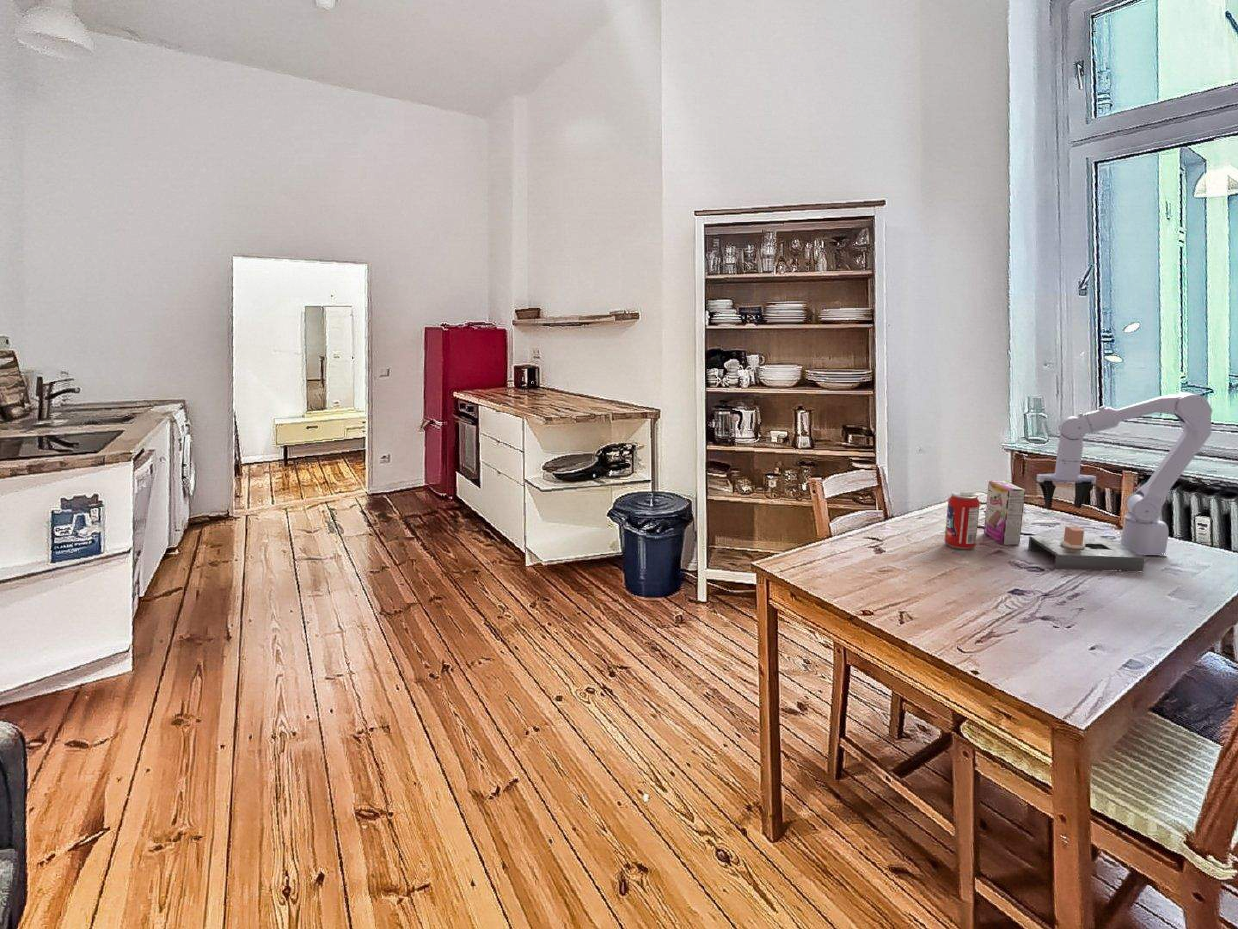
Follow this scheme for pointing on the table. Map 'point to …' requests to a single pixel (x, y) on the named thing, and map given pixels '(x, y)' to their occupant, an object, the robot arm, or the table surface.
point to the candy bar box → (1004, 512)
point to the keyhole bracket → (1089, 554)
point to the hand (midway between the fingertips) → (1062, 507)
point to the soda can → (962, 520)
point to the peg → (1073, 538)
